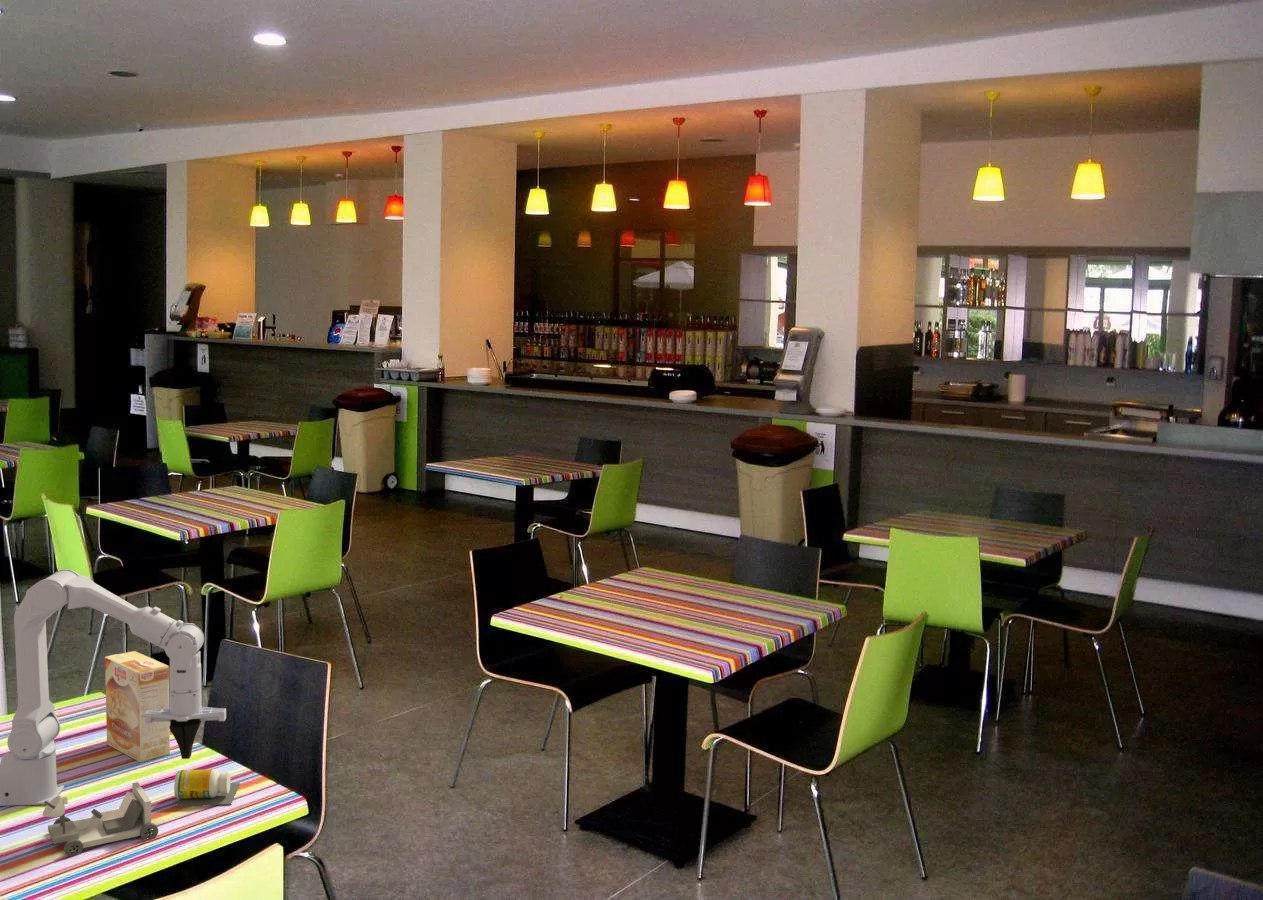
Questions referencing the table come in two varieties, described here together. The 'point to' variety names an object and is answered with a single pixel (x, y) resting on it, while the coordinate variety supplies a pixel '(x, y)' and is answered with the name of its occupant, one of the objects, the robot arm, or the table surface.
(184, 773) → the supplement bottle
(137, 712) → the coffeecake box
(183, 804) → the mat
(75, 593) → the robot arm
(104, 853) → the table surface
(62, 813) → the toy car
